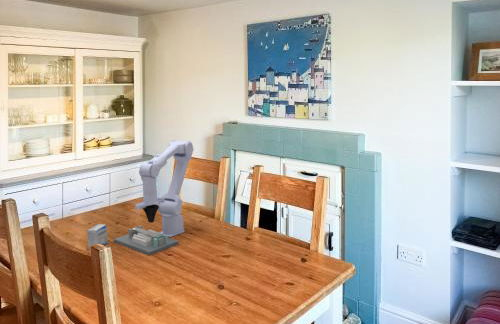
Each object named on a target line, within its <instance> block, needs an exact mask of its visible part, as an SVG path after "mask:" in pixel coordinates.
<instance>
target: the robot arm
mask: <svg viewBox="0 0 500 324" xmlns="http://www.w3.org/2000/svg"><path fill="white" fill-rule="evenodd" d="M194 149H195V148H194V146H193V143H192V141H191V140H176V139H173V140H171V141H170V142H169V143H168V146H167V148H165V149H164V151H163V152H162V153H158V154H157V153H156V154H155V156H154V157H153V158H151V159H150V160H149V161H148V162H147V163H145V162H144V163H142V164H141V165H140V167H139V170H138V174H139V176H140V179H141V181H142V195H143V197H142V199H143V201H141V202H139V203H136V204H135V205H134V207H135V210H137V211H139V210H141V209H142V210H143V212H144V213H145V215H146V218H147V221H148V223H151V224H152V223H154V222H155V218H156V214H157V211H158V212H159V213H160V216H161V222H162V223H161V225H162V226H161V227H162V230H161V231H158V232H159V233H162V234H163V235H167V237H168V238H171V237H174V236H177V235H179V234H183V233H185V231H186V230H184V217H183V215H182V214H181V212H182V209H183V207H182V206H183V205H182V204H183V200H182V198H181V197H180V192H181V190H182V187H183V182H184V180H185V176H186V172H187V169H188V166H189V163H190V161H191V159H192V156H193V152H194ZM172 157H173V159H174V160H175V161H176V166H175V168H174V171H173V174H172V178H171V181H170V184H169V187H168V191H167V193H165V194H163V195H162V196H161V197H158V190H157V189H158V186H157V177H159V173H160V171H161V169H163V167H165V166H167V164H168V160H170V159H171V158H172Z"/></svg>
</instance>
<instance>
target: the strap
mask: <svg viewBox="0 0 500 324" xmlns="http://www.w3.org/2000/svg"><path fill="white" fill-rule="evenodd" d="M131 229H133V231H136V232H139V233H141V234H144V235H147V236H150V237H153V238H157V239H159V238H162V237H163V235H159V234H156V233H153V232H150V231H148V229H144V228H142V229H141V228H139V227H138V226H136V227H133V228H131Z"/></svg>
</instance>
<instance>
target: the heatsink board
mask: <svg viewBox="0 0 500 324" xmlns="http://www.w3.org/2000/svg"><path fill="white" fill-rule="evenodd" d="M137 227H139V228H141V229H143V225H140V224H139V225H137ZM147 231H150V232H153V233H156V234H159V235H163V234H162V233H159V232H160V231H155V230H153V229H147ZM127 232H128V233H127V234H124V235H122V236H117V237H115V238H113V243H115V244H117V245H120V246H123V247H125V248H127V249H130V250H133V251H137V252H138V253H142V254H144V255H147V256H152V255H155V254H157V253H160V252H162V251H165V250H168V249H170V248H172V247H174V246H178V245H179V243H180V242H179V240H176V239H174V238H171V237H168V236H167V235H163V237H162V238H159V239H157V238H153V237H150V236H147V235H144V234H141V233H139V232H136V231H133V229H132V228H128V231H127Z"/></svg>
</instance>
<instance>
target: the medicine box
mask: <svg viewBox="0 0 500 324" xmlns="http://www.w3.org/2000/svg"><path fill="white" fill-rule="evenodd" d="M86 232H87V244H88V249H89V250H91V249H90V246H91V245H94V244H102V245H104V246H106V245H107V244H108V229H107V224H104V223H103V224H102V223H99V224H95V225H94V226H92V227H91V228H89V229H87V231H86Z"/></svg>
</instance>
